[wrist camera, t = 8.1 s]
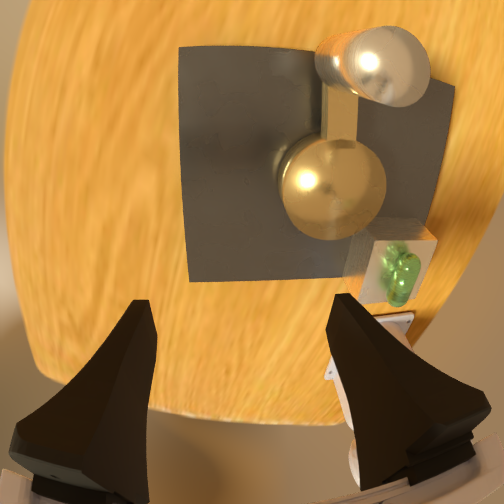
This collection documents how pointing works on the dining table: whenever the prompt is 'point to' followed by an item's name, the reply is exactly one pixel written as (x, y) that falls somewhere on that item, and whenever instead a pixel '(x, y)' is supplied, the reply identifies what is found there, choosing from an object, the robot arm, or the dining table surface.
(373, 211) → the gold rounded piece
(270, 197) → the instrument base
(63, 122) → the dining table surface
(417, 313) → the dining table surface
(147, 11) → the dining table surface
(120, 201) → the dining table surface
